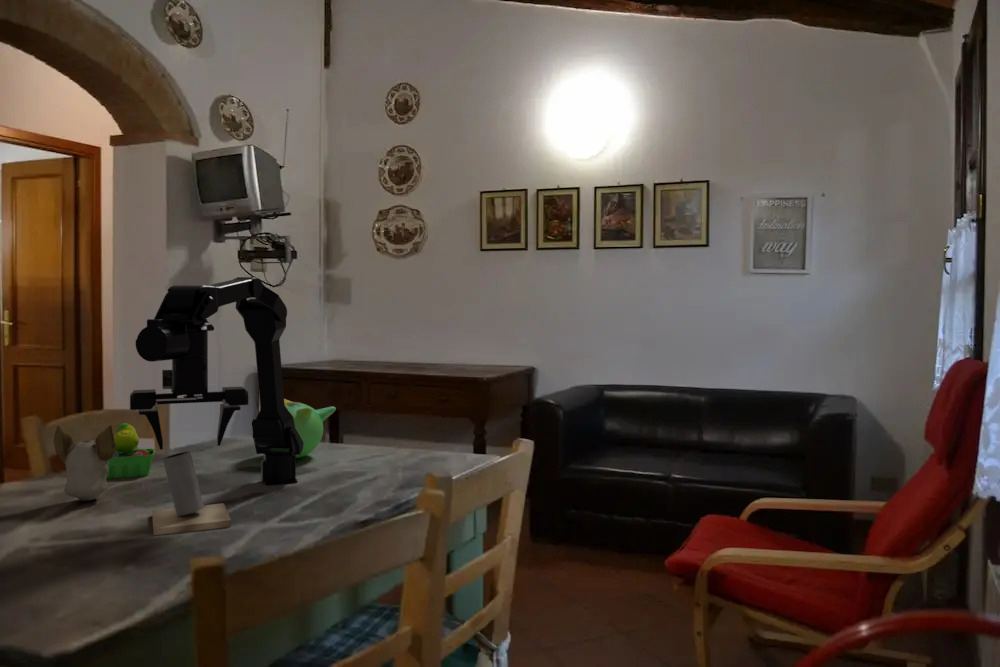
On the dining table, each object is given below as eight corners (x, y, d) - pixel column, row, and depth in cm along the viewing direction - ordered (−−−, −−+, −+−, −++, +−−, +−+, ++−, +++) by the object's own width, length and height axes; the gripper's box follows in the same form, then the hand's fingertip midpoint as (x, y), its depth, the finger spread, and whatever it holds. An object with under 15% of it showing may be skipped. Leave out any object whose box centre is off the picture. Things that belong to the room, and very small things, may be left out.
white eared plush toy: (125, 495, 147) (125, 420, 146) (110, 507, 138) (109, 427, 138) (67, 497, 145) (66, 420, 145) (48, 509, 137) (47, 428, 136)
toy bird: (275, 450, 195) (275, 394, 194) (337, 452, 192) (337, 395, 192) (242, 464, 177) (242, 402, 176) (310, 467, 174) (310, 404, 174)
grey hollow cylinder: (198, 511, 128) (184, 453, 128) (172, 518, 128) (158, 460, 128) (208, 505, 133) (194, 449, 133) (182, 511, 133) (168, 455, 132)
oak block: (223, 513, 138) (223, 503, 138) (231, 531, 127) (230, 520, 127) (152, 521, 133) (152, 510, 133) (153, 540, 122) (153, 528, 122)
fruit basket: (94, 482, 158) (94, 429, 158) (98, 473, 166) (98, 423, 166) (154, 477, 163) (153, 426, 162) (155, 469, 171) (154, 420, 170)
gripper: (241, 354, 140) (241, 436, 141) (130, 355, 132) (131, 443, 133) (248, 357, 130) (248, 446, 131) (129, 360, 122) (130, 454, 123)
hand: (190, 447), depth 130 cm, fingers open, 9 cm apart
